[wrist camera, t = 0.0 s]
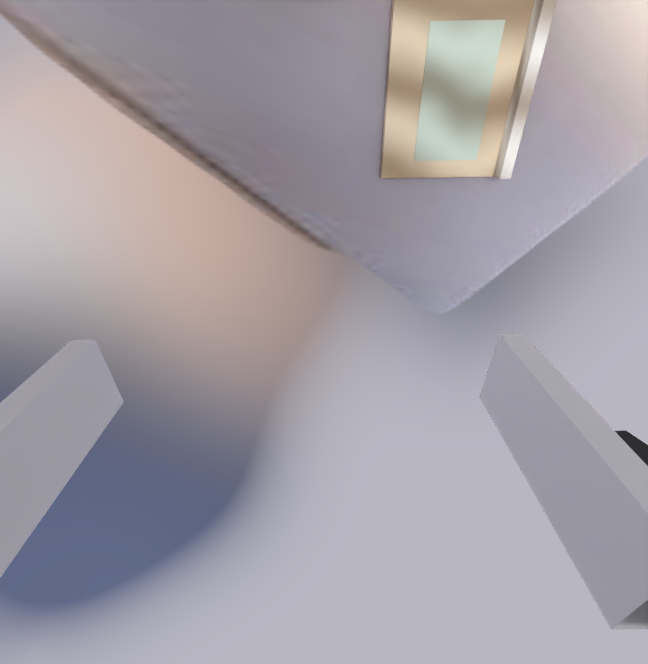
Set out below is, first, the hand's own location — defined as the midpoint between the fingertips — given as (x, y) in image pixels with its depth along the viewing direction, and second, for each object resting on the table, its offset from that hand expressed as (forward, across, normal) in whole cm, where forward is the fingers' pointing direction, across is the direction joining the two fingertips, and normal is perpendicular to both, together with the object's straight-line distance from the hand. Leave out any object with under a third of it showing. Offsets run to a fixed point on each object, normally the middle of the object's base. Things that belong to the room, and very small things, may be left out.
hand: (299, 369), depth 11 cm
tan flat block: (+28, +13, +9) cm, 32 cm away
